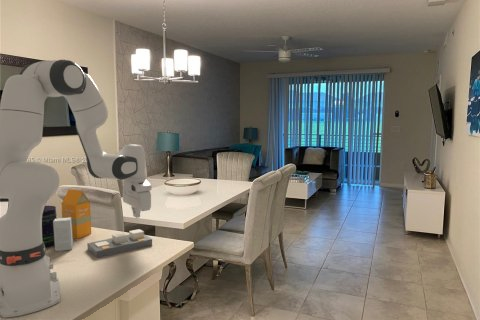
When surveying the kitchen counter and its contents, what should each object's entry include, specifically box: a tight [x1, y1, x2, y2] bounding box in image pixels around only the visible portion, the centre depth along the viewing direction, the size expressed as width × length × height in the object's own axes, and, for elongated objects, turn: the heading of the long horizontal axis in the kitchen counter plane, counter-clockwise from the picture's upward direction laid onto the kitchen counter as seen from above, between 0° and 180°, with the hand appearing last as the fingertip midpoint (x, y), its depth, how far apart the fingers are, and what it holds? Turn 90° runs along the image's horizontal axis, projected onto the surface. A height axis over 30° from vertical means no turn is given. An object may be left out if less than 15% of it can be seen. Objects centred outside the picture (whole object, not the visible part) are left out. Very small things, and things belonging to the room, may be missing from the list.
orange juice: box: [61, 189, 92, 239], centre depth 158 cm, size 8×9×20 cm
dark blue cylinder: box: [42, 205, 58, 249], centre depth 146 cm, size 10×10×15 cm
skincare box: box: [53, 217, 74, 252], centre depth 142 cm, size 6×4×12 cm
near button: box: [94, 241, 110, 248], centre depth 141 cm, size 4×4×3 cm
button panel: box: [87, 234, 153, 259], centre depth 145 cm, size 11×22×3 cm, turn 129°
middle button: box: [111, 231, 128, 244], centre depth 145 cm, size 4×4×3 cm
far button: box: [128, 228, 145, 240], centre depth 149 cm, size 4×4×3 cm
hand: (136, 216), depth 149 cm, fingers closed
